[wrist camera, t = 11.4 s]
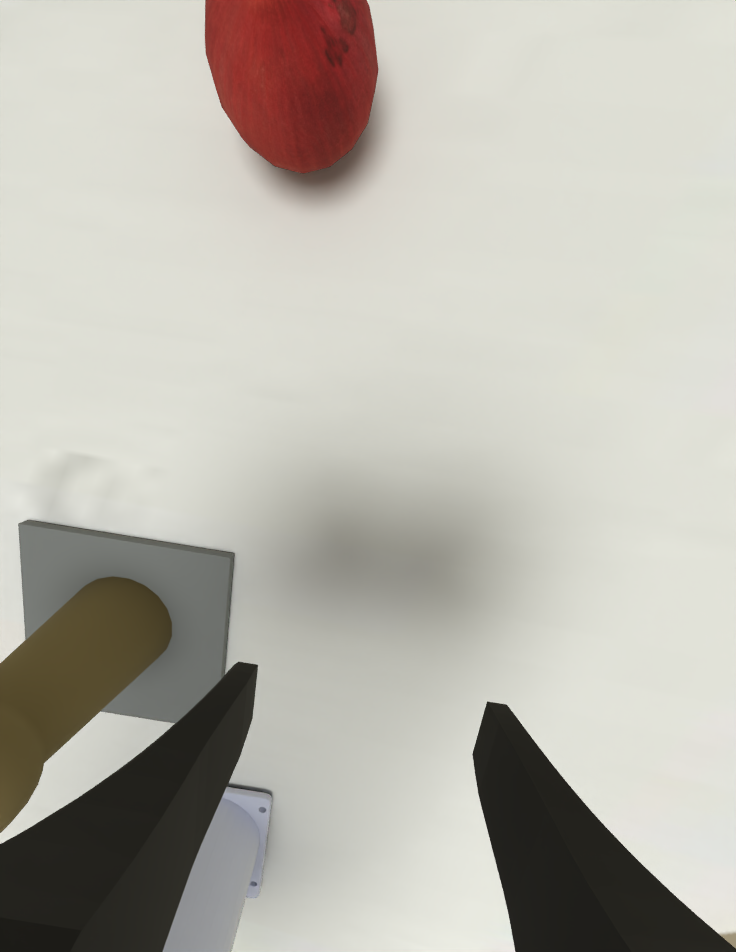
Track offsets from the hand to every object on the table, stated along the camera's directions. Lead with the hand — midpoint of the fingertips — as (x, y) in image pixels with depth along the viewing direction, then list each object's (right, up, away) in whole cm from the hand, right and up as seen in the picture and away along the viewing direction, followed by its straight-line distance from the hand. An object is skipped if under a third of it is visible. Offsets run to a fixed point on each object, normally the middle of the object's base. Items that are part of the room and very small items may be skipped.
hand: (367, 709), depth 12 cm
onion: (-2, +23, +6) cm, 23 cm away
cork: (-15, -1, +11) cm, 18 cm away
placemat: (-15, -2, +12) cm, 19 cm away
